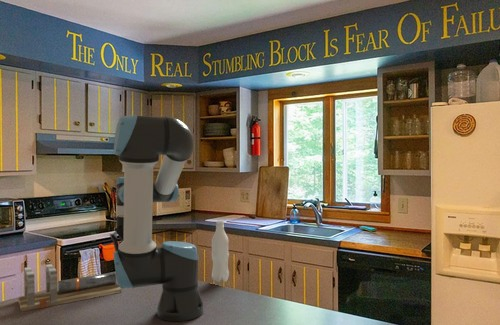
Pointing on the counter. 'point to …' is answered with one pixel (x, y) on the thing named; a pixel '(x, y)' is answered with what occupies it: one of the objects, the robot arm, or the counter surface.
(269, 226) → the counter surface
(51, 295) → the rail
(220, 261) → the water bottle
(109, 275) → the tube
